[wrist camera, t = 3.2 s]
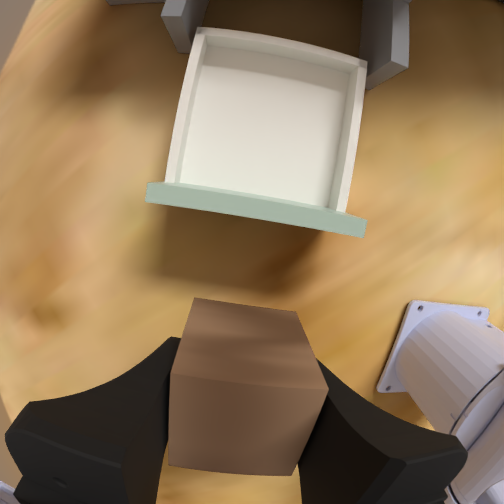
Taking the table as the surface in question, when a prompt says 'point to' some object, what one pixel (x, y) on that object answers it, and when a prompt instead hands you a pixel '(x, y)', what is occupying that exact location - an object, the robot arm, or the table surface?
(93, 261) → the table surface
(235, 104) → the drawer
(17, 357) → the table surface
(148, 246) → the table surface
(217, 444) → the walnut block
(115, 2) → the box
